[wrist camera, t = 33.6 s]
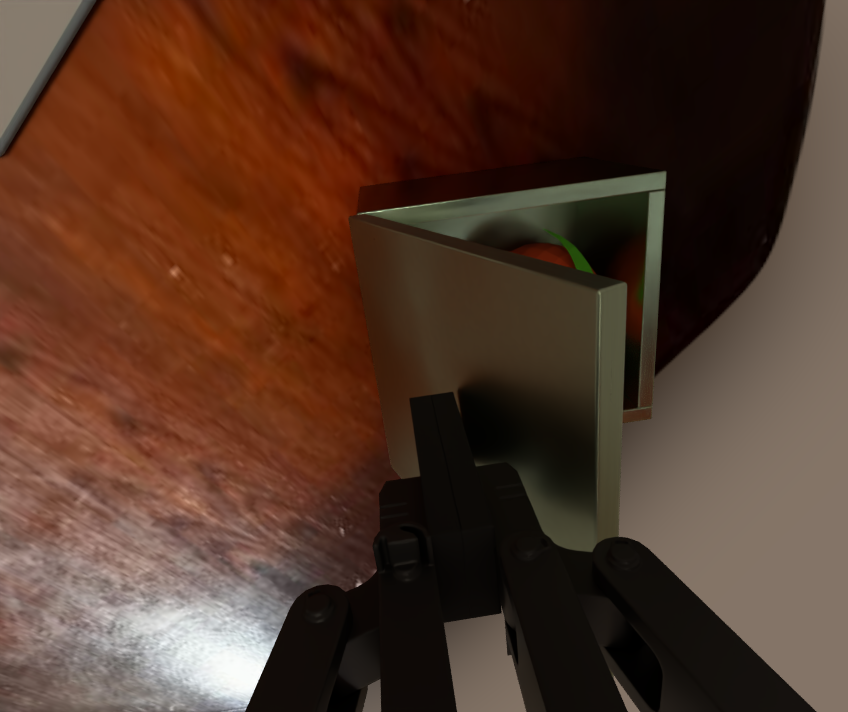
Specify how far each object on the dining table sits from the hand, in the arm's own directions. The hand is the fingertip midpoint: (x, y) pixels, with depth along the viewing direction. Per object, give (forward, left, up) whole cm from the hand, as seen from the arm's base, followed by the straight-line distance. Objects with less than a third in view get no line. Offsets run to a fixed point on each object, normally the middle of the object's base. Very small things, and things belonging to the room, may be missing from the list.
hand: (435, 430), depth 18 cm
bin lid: (-1, 0, -1) cm, 2 cm away
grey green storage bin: (-5, 0, -18) cm, 18 cm away
